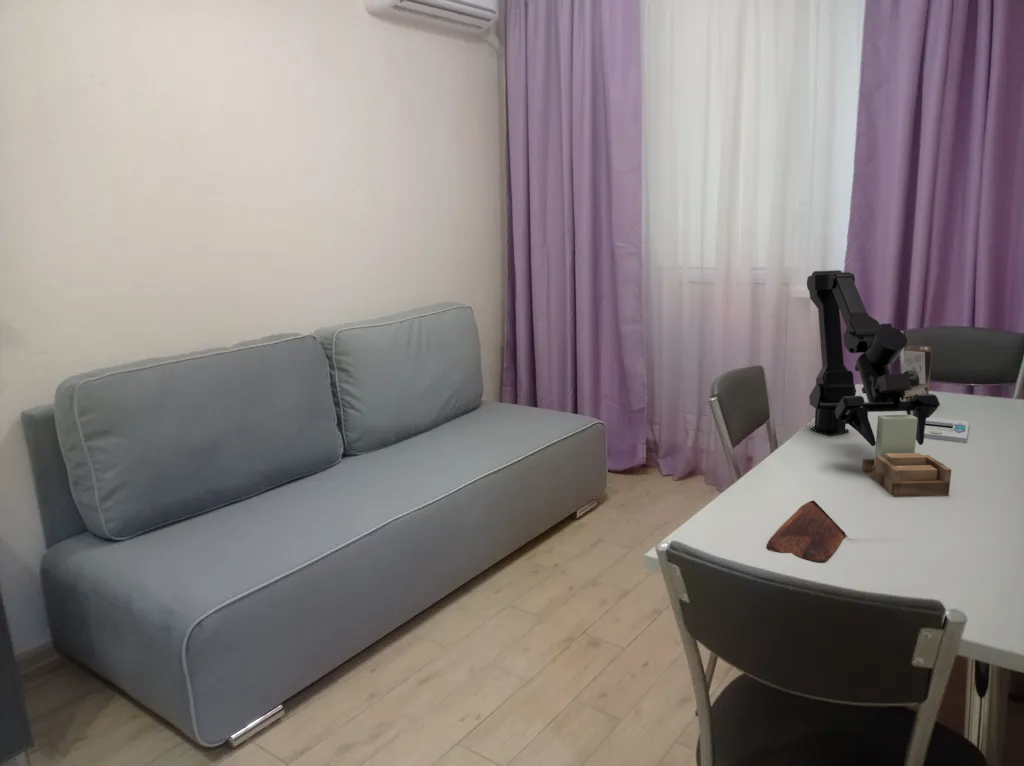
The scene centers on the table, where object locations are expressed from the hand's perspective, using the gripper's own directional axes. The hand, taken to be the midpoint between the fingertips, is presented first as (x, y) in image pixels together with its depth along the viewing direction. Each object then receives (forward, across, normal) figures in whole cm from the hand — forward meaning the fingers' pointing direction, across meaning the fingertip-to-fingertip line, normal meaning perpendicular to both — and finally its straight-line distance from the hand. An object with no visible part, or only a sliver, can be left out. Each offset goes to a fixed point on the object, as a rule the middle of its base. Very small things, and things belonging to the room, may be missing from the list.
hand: (897, 444), depth 147 cm
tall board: (+4, 0, +5) cm, 7 cm away
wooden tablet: (+21, -23, -9) cm, 32 cm away
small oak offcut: (+10, 0, -1) cm, 10 cm away
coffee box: (-32, +30, +43) cm, 62 cm away
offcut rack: (+8, 0, +3) cm, 8 cm away
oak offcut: (+7, 0, +2) cm, 7 cm away
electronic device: (-18, +22, +30) cm, 41 cm away
